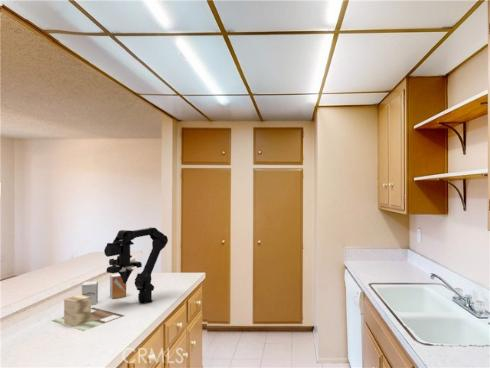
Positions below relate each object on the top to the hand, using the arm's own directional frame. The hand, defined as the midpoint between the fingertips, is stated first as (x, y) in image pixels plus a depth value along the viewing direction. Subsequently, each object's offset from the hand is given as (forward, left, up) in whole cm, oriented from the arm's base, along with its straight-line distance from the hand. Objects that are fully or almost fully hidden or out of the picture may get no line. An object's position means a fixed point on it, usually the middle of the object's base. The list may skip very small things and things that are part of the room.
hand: (124, 283), depth 183 cm
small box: (0, -24, -13) cm, 27 cm away
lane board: (+18, +11, -13) cm, 25 cm away
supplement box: (+16, -14, -13) cm, 25 cm away
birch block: (+23, +14, -12) cm, 30 cm away
